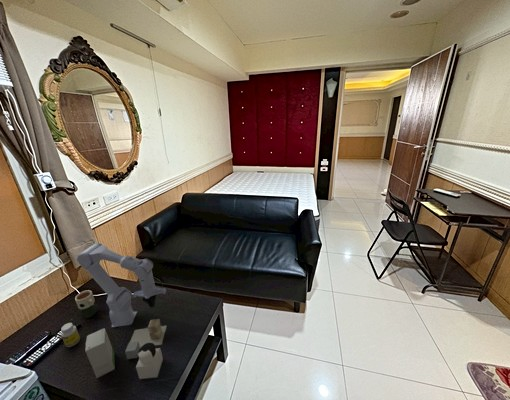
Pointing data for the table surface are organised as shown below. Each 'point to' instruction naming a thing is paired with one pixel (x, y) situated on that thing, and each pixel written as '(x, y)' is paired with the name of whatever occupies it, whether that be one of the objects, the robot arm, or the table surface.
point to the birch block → (155, 329)
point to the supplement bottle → (70, 335)
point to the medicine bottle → (149, 361)
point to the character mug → (86, 303)
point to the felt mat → (146, 337)
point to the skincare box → (100, 352)
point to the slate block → (132, 350)
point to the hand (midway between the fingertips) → (152, 305)
